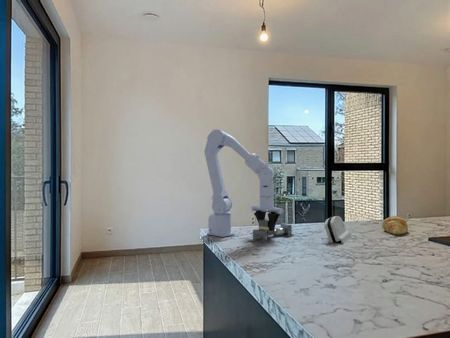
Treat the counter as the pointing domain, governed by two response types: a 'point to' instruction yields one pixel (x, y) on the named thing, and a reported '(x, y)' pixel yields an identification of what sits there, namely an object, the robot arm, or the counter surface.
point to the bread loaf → (395, 225)
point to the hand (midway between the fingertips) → (266, 229)
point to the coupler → (265, 226)
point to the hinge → (336, 230)
